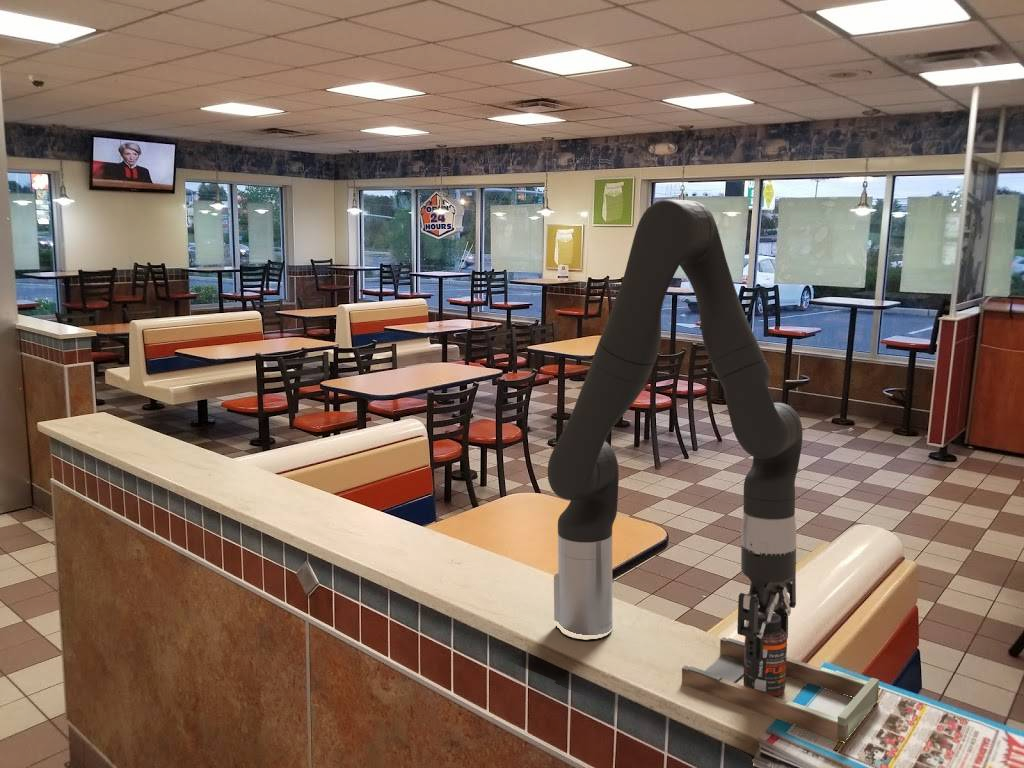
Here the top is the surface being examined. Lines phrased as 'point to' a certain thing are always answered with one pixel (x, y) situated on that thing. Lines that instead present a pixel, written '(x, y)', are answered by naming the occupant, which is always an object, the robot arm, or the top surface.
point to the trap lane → (731, 669)
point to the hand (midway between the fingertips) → (767, 649)
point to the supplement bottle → (768, 661)
